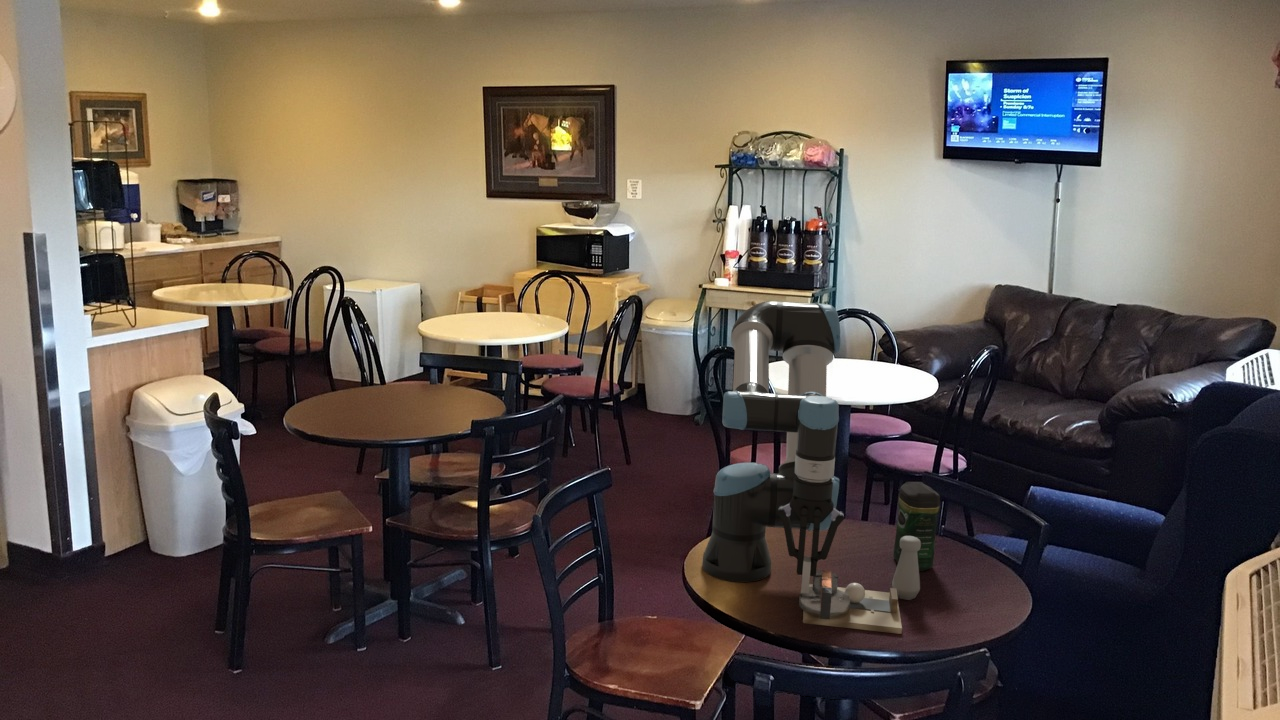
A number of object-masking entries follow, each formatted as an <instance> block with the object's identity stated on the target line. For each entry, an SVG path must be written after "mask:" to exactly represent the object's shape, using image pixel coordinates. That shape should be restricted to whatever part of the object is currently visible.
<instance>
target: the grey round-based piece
mask: <svg viewBox="0 0 1280 720" xmlns="http://www.w3.org/2000/svg"><path fill="white" fill-rule="evenodd" d="M838 583H839V576H838V574H836V573H835V572H832V570H823V569H822V570H816V575H815V576H812V584H813V587H809V593H803V592H801V591H799V597H798V598H799V600H798V605H799V608H800V609H801V610H804V611H805V612H807V613H809V614H812V615H815V616H819V617H820V619H829V620H830V618H833V617H840V616H843V615H845V614H847V613H848V612H849V607H850V598H849V596H848V595H847V594H846V593H844V592H843V591H840V590H838V589H837V587H839V586H838Z"/></svg>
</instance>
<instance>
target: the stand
mask: <svg viewBox="0 0 1280 720" xmlns="http://www.w3.org/2000/svg"><path fill="white" fill-rule="evenodd" d="M809 587H813V583H809ZM837 589H838V590H840V591H843V592H844V593H845V589H846V587H839V586H838V587H837ZM864 590H865V597H864V599H863V600H862V601H860V602H858V603H853V602H851V601H850V607H849V612H848V613H847V614H845V615H843V616H840V617H833V618H830V620H829V619H820V617H819V616H815V615H812V614H809V613H807V612H805V611H804V610H803V612H802V613H803V614H802V624H809V625H816V626H817V625H819V626H827V627H828V626H829V627H836V628H845V629H855V630H862V631H863V630H864V631H870V632H871V631H872V632H882V633H888V634H889V633H892V634H898V635H901V634H902V632H903V630H902V629H903V626H902V620H901V613H900V607H899V606H900V605H899V598H898V596H897V590H896V588H893V587H890V588H889V592H888V591H887V592H886V591H877V590H869V589H864Z"/></svg>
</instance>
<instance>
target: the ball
mask: <svg viewBox="0 0 1280 720" xmlns="http://www.w3.org/2000/svg"><path fill="white" fill-rule="evenodd" d="M845 588H846V589H845V593H846V594H847V595H848V596H849V598H850V601H851V602H853V603H858V602H860V601H862V600H863V599H864V597H865V590H866V589H865V588H864V586H863V584H860V583H858V582H851V583H849V584H847V586H846V587H845Z"/></svg>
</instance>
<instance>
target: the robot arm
mask: <svg viewBox="0 0 1280 720" xmlns="http://www.w3.org/2000/svg"><path fill="white" fill-rule="evenodd" d="M730 343H731V347H732V349H733V350H734V358H733V359H734V362H733V383H732V384H733V385H732V391H729V390H728V391H726V392H724V394H723V400H722V401H723V402H722V420H721V422H722V425H723V426H724V427H725V428H729V429H736V430H737V429H738V430H740V431H744V430H749V431H750V430H751V431H767V432H771V431H772V432H783V433H786V450H785V451H786V453H785V461H783V462H782V463H780V465H778V473H774V472H773V473H771V470H770V468H769V466H768V465H766V464H763V463H759V462H738V463H733V464H729V465H727V466H726V465H725V466H724V467H723V468H721V469H719V471H718V472H717V474H716V475H715V481H714V488H713V494H714V500H713V513H712V527H711V528H712V530H711V533H710V534H711V535H710V537H709V540H708V542H707V544H706V547H705V550H704V552H703V554H702V563H701V564H702V569H703V570H704V572H706V573H707V575H710V576H711V577H714V578H716V579H719V580H722V581H727V582H735V583H749V582H750V583H751V582H757V581H761V580H763V579H766V578H767V577H768V576H769V575H770V574H771V571H772V558H771V554H770V550H769V547H768V543H767V539H766V530H767V529H766V528H776V529H777V528H778V529H779V528H780V529H781V528H782V529H784V535H785V541H786V546H787V551H788V555H789V557H794V558H796V560H797V561H796V574H797V575H799V576H800V575H801V587H800V592H803V593H809V584H810V578H811V577H813V576H815V575H816V572H817V570H818V569H817V565H818V562H819V561H820V560H823V561H825V560H827V558H828V555H829V552H830V549H831V547H832V544H833V541H834V538H835V536H836V533H837V530H838V527H839V526H840V525H841V524H842V522H843V521H844V519H845V516H844V515H845V514H844V512H843V511H842V510H840V511H839V510H838V509H837V504H838V499H839V498H838V496H839V490H840V478H839V477H837V476H835V462H836V445H837V437H838V426H839V425H838V423H839V421H840V416H839V415H840V413H839V409H840V408H839V407H840V406H839V402H838V401H837V400H835V399H833V398H832V397H828V396H827V370H828V369H827V367H828V365H829V364H831V363H832V362H833V360H834V356H835V355H838V354H839V353H840V350H841V325H840V317H839V313H838V311H837V309H836V308H835V307H834V306H833V305H832V304H826V303H819V302H812V303H811V302H810V303H809V302H794V301H793V302H792V301H777V300H768V301H767V300H766V301H763V302H760V303H756V304H754V305H752V306H751V307H749V308H748V309H747V310H744V312H743V313H741V315H739V317H738V318H737V320H736V321H735V322H734V324H733V326H732V329H731V333H730ZM770 351H775V352H782V360H783V361H784V362H785V363H786V364H788V383H787V385H788V386H787V394H783V393H782V394H780V393H770V386H769V385H770V374H769V373H770V371H769V370H770V369H769V368H770V363H769V362H770V360H769V358H770V357H769V356H770V353H769V352H770ZM793 530H799V533H798V534H799V536H798V537H799V538H798V547H797V548H796V545H795V544H796V543H795V540H794V539H795V538H794V535H793ZM826 530H827V533H826V535H825V539H824V541H823V544H822V546H821V550H819V541H820V531H826ZM807 531H809V532H811V531H812V540H811V552H810V553H811V555H810V556H805V549H806V548H805V546H806V535H807Z"/></svg>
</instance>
